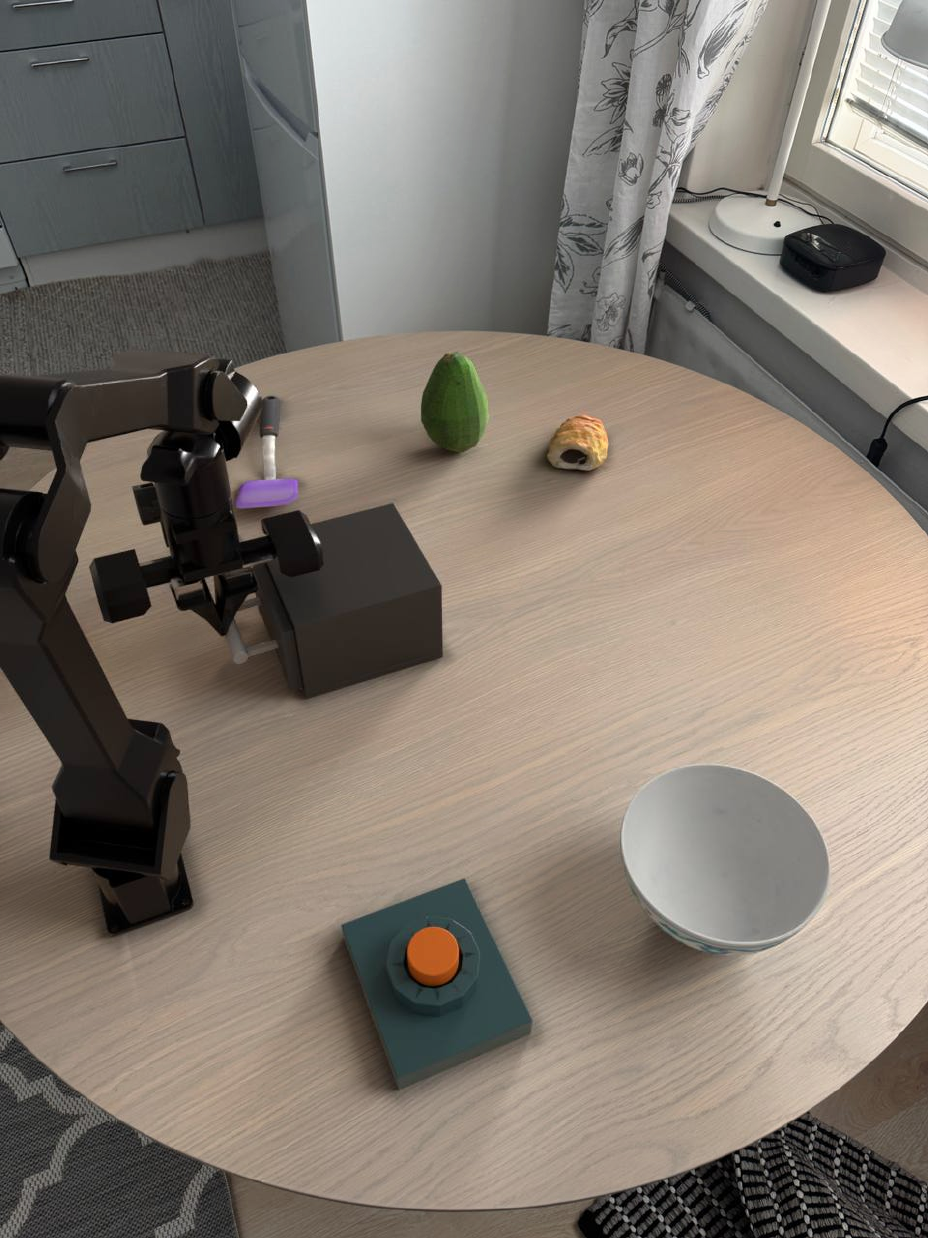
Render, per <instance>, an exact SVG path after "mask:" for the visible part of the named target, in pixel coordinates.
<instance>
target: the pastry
mask: <svg viewBox="0 0 928 1238" xmlns="http://www.w3.org/2000/svg"><path fill="white" fill-rule="evenodd" d="M609 444H610V443H609V436H608V435H607V431H606V430H605V427H604V424H603V422H602V421H601V419H599V418H596V417H593V416H589V415H587V414H577V415H574V416H572V417H571V418H570V417H569V418H567V419H566V420H564V421H563V422H562V423H560V426H559V427H558V428H557V429H556V430H555V432H554V433H553V436H552V438H550V444H549V450H548V453H547V454H546V457H547V460H548V461H549V462H550V464H551V466H552V467H554V468H556V469H564V470H580V471H592V470H595V469H597V468H600V467H601V466H602V465H603V464H604V462H605V461H606V460H607V457H608V448H609Z"/></svg>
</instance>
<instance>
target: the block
mask: <svg viewBox="0 0 928 1238" xmlns="http://www.w3.org/2000/svg"><path fill="white" fill-rule="evenodd" d="M428 927H438V928H442V929H445V930H447V931H448V932H449V933H451V934H452V935H453V936H454V938H455V939H456V941H457V944H458V948H459V965H458V969H457V971H456V973H455V975H454V976H453V977H452V979H450V980H449V981H448V982H446V983H444V984H442V985H439V986H427V985H424V984H421V983H419V982H418V981H417V980H415V979H414V978H413V976H412V975H411V973H410V971H409V968H408V960H407V947H408V944H409V941H410V940H411V938H412V937H413V936H414V935H415V934H416V933H417V932H418V931H420V930H422V929H424V928H428ZM341 931H342V937H343V941H344V944H345V946H346V949H347V952H348V955H349V958H350V960H351V963H352V966H353V969H354V971H355V974H356V977H357V979H358V983H359V985H360V988H361V990H362V993H363V997H364V999H365V1001H366V1004H367V1008H368V1010H369V1013H370V1015H371V1018H372V1021H373V1024H374V1027H375V1029H376V1032H377V1035H378V1038H379V1040H380V1043H381V1046H382V1048H383V1052H384V1054H385V1057H386V1060H387V1063H388V1065H389V1068H390V1071H391V1073H392V1076H393V1079H394V1082H395V1085H396V1088H397V1090H398V1091H401V1090H403V1089H406V1088H407V1087H409V1086H412V1085H415V1084H416V1083H419V1082H421V1081H424V1080H426V1079H428V1078H431V1077H433V1076H436V1075H438V1074H440V1073H442V1072H445V1071H447V1070H449V1069H452V1068H453V1067H456V1066H458V1065H461V1064H463V1063H465V1062H467V1061H470V1060H473V1059H475V1058H477V1057H479V1056H482V1055H484V1054H486V1053H488V1052H490V1051H493V1050H496V1049H497V1048H500V1047H502V1046H505V1045H506V1044H507V1045H508V1044H510V1043H512V1042H513V1041H516V1040H519V1039H520V1038H523V1037H525V1036H527V1035H530V1034H531V1033H532V1027H533V1018H532V1016H531V1014H530V1012H529V1010H528V1008H527V1005H526V1003H525V1002H524V999H523V997H522V995H521V992H520V991H519V989H518V986H517V985H516V982H515V980H514V978H513V975H512V974H511V971H510V970H509V968H508V966H507V963H506V961H505V959H504V957H503V955H502V953H501V951H500V948H499V947H498V944H497V942H496V940H495V938H494V936H493V933H492V931H491V929H490V928H489V925H488V923H487V921H486V919H485V917H484V915H483V913H482V910H481V908H480V907H479V904H478V902H477V900H476V898H475V896H474V894H473V892H472V890H471V888H470V885H469V883H468V881H467V879H466V878H465V877H464V878H461V879H458V880H455V881H453V882H451V883H448V884H445V885H442V886H440V887H437V888H434V889H432V890H429V891H426V892H424V893H422V894H418V895H416V896H413V897H411V898H408V899H405V900H403V901H400V902H398V903H395V904H392V905H390V906H387V907H384V908H382V909H378V910H376V911H373V912H371V913H369V914H368V913H367V914H366V915H363V916H360V917H358V918H355V919H353V920H350V921H347V922H344V923H342V924H341Z"/></svg>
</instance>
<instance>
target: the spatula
mask: <svg viewBox="0 0 928 1238" xmlns="http://www.w3.org/2000/svg"><path fill="white" fill-rule="evenodd" d="M281 405H282V404H281V399H280V398H279V397H278V396H276V395H267V396H264V397H263V398H262V410H261V413H260V415H259V437H260V438H261V444H262V445H261V453H262V454H261V455H262V469H263V471H262V472H263V473H262V474H263V479H260V480H249V481H245V482H243V483H242V484H241V485H240V487H239V490H238V492H237V496H236V500H235V503H234V507H235V508H237V509H240V510H244V509H252V508H268V507H278V506H283V505H287V504H289V503H290V504H291V503H292V502H294V501H296V500H297V499H298V498H299V483H298V481H297V479H295V478H277V468H276V438H278V436H279V431H280V420H281V408H282V407H281Z"/></svg>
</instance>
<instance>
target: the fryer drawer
mask: <svg viewBox="0 0 928 1238" xmlns="http://www.w3.org/2000/svg"><path fill="white" fill-rule="evenodd" d="M253 567H254V568H252V572H253V574H254V576H255V579H256V581H257V584H258V590H257V592H255V593H254V594H255V597H253V598H250V599H245V600H244V602H243V603H242V605H241V606H240V608H239V609H238V611H237V612H240V611H245V610H248V609H251V608H255V607H257V609H258V612H259V616H260V617H261V621H262V623H263V625H264V628H265V630H266V633H267V635H268V639H269V641H266V642H262V643H259V644H255V645H252V646H248V647H246V646H245V642H244V639H243V638H242V635H241V631H240V629H239V626H238V624H237V620H236V619H235V617H234V619H233V621H232V623H231V625H230V627H229V630H228V632H227V634H226V635H225V636H224V639H225V643H226V644H227V647H228V650H229V653H230V656H231V658H232V659H231V660H232V661H233V663H234V664H237V665H238V664H239V665H241V664H244V663H246V662H247V661H248V659H249V657H252V656H255V655H259V654H262V653H265V652H269V651H273V650H274V654H275V655H276V658H277V660H278V663H279V666H280V668H281V671H282V673H283V676H284V678H285V681H286V683H287V686H288V688H289V691H290V692H291V693H293V692H296V691H300V690H303V683H302V677H301V672H300V666H299V660H298V654H297V648H296V642H295V636H294V630H293V628H292V625H291V623H290V621H289V618H288V616H287V613H286V611H285V609H284V606H283V604H282V602H281V599H280V597H279V594H278V592H277V590H276V587H275V585H274V583H273V580H272V578H271V575H270V573H269V571H268V568H267V566H266V564H265V563H263V564H259V565H255V566H253Z"/></svg>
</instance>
